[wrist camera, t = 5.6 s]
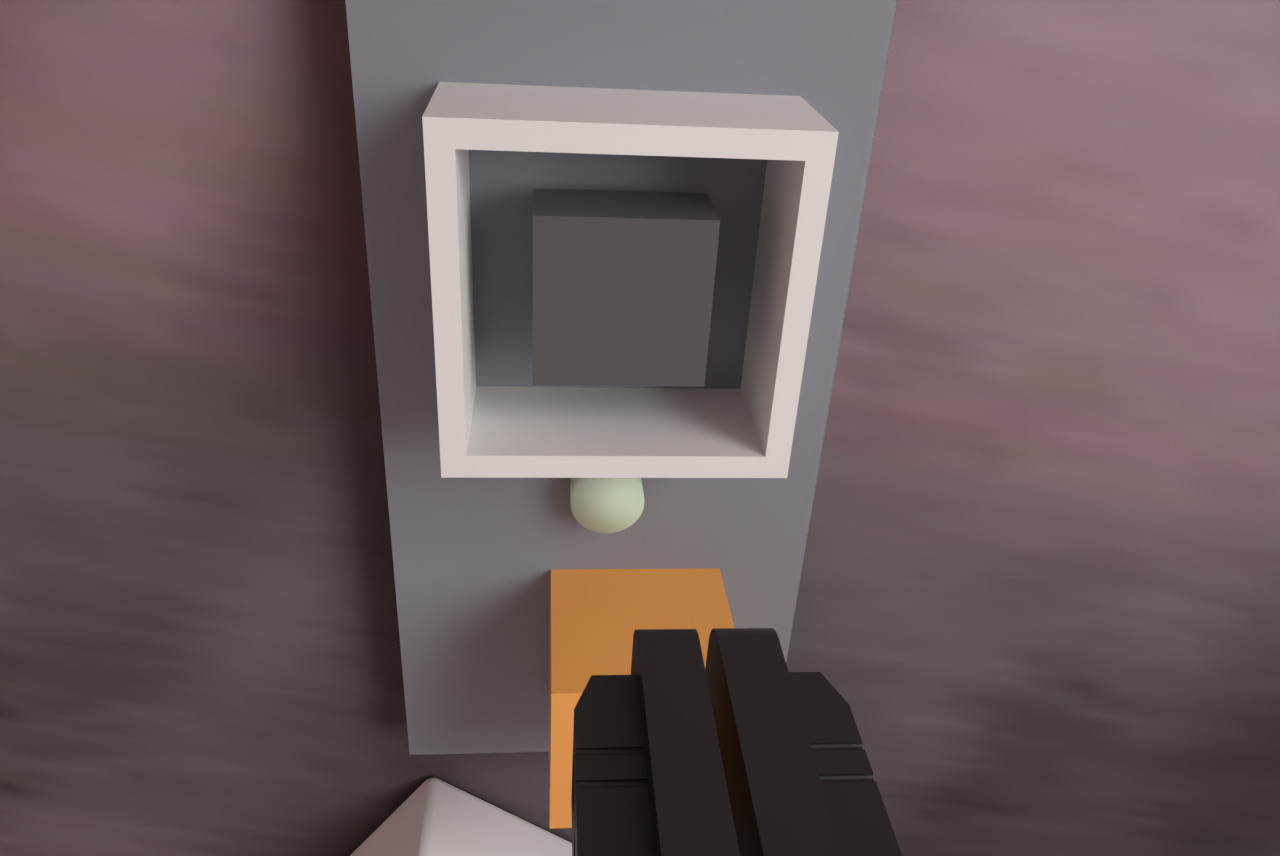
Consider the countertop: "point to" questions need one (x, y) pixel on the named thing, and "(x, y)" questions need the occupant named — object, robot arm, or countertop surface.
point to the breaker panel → (503, 312)
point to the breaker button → (622, 287)
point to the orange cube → (614, 640)
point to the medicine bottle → (457, 828)
